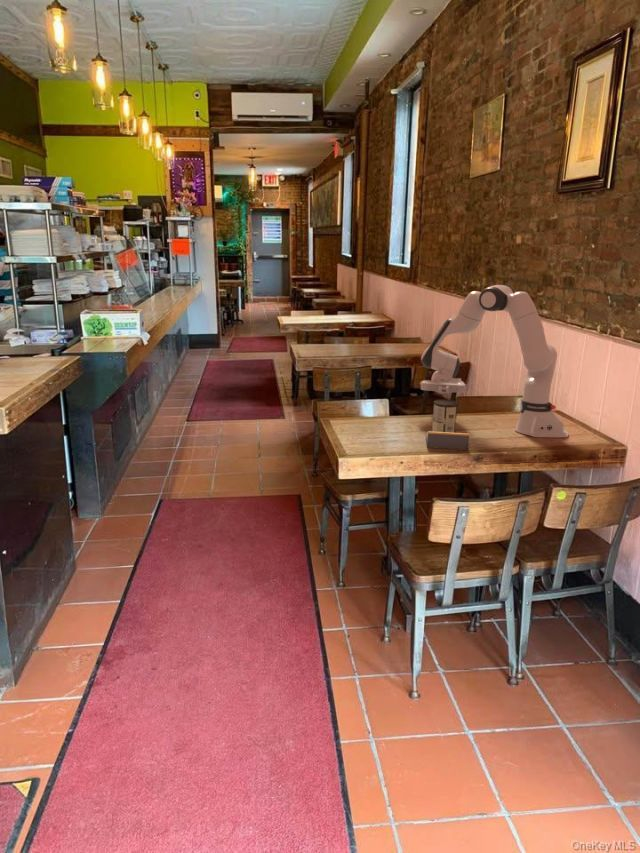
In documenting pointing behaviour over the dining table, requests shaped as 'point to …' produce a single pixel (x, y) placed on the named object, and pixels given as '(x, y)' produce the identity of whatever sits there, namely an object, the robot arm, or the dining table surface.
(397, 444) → the dining table surface
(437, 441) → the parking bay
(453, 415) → the coffee can
